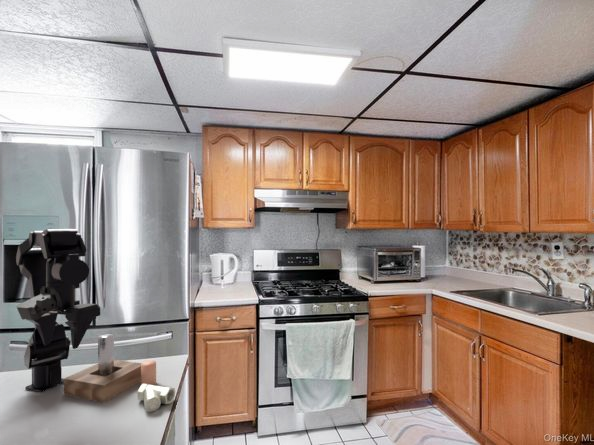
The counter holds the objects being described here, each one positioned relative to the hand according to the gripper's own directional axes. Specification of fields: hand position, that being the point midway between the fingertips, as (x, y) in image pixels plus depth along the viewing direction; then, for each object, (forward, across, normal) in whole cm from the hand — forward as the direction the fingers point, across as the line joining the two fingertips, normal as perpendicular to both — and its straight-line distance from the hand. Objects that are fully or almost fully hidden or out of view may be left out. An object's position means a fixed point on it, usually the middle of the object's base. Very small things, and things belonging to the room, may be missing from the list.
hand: (60, 346), depth 78 cm
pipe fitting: (+14, +22, +5) cm, 26 cm away
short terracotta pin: (+13, +14, +13) cm, 23 cm away
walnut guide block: (+13, +4, +9) cm, 16 cm away
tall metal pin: (+13, +4, +9) cm, 16 cm away
